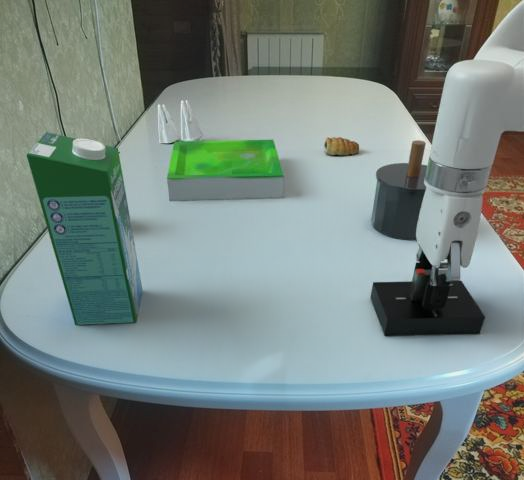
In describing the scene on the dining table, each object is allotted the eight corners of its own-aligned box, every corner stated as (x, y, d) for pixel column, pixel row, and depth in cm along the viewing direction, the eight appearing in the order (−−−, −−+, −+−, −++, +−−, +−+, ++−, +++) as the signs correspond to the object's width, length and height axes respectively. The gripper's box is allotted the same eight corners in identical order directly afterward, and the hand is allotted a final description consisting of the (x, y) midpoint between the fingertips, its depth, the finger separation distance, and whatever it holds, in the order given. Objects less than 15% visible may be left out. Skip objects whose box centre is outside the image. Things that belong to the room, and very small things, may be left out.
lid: (436, 168, 101) (444, 130, 97) (459, 195, 91) (469, 154, 86) (368, 169, 101) (373, 131, 96) (383, 196, 90) (390, 155, 86)
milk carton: (136, 322, 76) (103, 151, 60) (74, 325, 75) (25, 153, 59) (142, 290, 82) (114, 129, 67) (86, 292, 82) (44, 130, 66)
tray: (176, 161, 130) (174, 141, 127) (273, 159, 131) (273, 139, 128) (169, 200, 111) (166, 178, 108) (283, 197, 112) (283, 175, 109)
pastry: (356, 148, 139) (357, 133, 136) (361, 156, 133) (362, 141, 131) (322, 148, 138) (323, 134, 136) (325, 157, 133) (327, 142, 131)
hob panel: (456, 296, 81) (461, 279, 79) (480, 333, 73) (486, 316, 71) (370, 298, 81) (373, 281, 79) (384, 336, 73) (387, 318, 71)
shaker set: (203, 141, 143) (200, 98, 136) (200, 146, 140) (197, 102, 133) (163, 139, 145) (158, 97, 138) (158, 144, 142) (153, 101, 135)
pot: (425, 211, 106) (435, 166, 100) (444, 239, 97) (456, 190, 91) (365, 212, 106) (372, 167, 100) (378, 240, 96) (386, 191, 90)
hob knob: (441, 295, 76) (449, 267, 73) (444, 300, 75) (452, 272, 72) (408, 296, 76) (414, 268, 73) (411, 301, 75) (417, 273, 72)
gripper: (515, 200, 57) (472, 330, 68) (463, 151, 70) (434, 267, 82) (449, 201, 57) (417, 331, 68) (409, 152, 70) (388, 268, 81)
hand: (427, 295), depth 75 cm, fingers open, 4 cm apart
